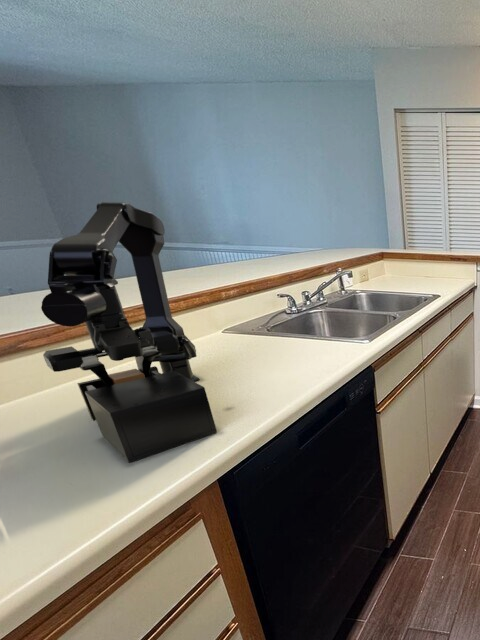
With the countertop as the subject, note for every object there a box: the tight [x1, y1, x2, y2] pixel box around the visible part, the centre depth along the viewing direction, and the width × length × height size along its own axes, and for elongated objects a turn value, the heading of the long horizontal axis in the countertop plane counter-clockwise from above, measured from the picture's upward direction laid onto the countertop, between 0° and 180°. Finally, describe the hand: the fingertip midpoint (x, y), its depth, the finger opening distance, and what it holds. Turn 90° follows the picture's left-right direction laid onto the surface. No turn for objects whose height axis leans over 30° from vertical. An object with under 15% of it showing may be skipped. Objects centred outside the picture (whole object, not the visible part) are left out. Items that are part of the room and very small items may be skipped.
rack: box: [77, 365, 162, 422], centre depth 85 cm, size 15×12×8 cm
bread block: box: [108, 368, 145, 385], centre depth 84 cm, size 4×4×4 cm
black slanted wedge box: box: [85, 371, 218, 464], centre depth 79 cm, size 15×14×10 cm
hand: (130, 390), depth 84 cm, fingers closed on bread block, 4 cm apart
